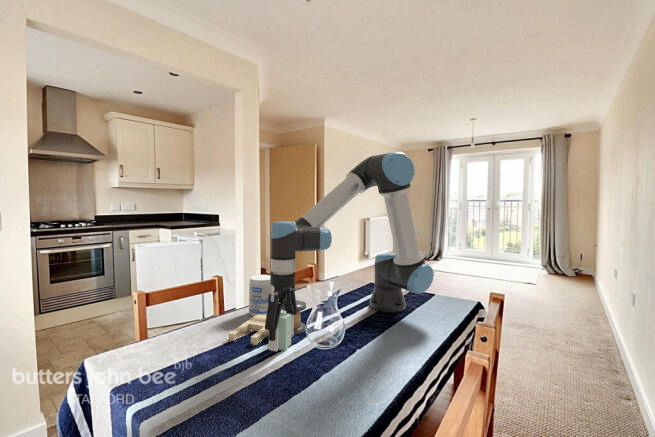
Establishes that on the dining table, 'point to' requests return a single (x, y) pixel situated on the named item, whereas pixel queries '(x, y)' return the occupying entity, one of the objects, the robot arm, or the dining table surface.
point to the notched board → (252, 324)
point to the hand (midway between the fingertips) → (281, 341)
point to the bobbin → (298, 318)
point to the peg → (284, 331)
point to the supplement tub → (259, 294)
